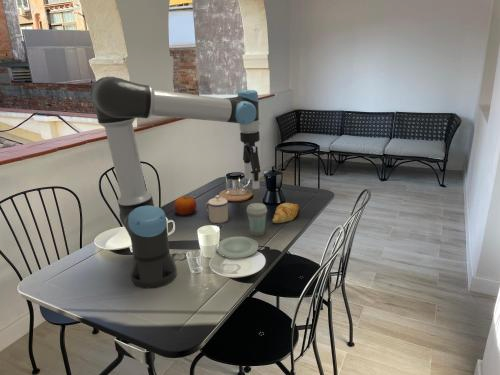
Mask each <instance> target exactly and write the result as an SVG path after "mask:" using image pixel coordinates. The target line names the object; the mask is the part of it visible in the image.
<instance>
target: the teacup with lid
mask: <svg viewBox="0 0 500 375" xmlns="http://www.w3.org/2000/svg"><path fill="white" fill-rule="evenodd" d="M228 204H229V201H228V200H227V198H225V197H221V196H220V195H219V194H218V195H215V196H214V197H213V198H210V199H209V200H208V201H207V202H206V203H205V209H206V211H207V212H208V219H209V221H210V222H211V223H213V224H222V223H225V222H227V221H228V219H229V211H228Z"/></svg>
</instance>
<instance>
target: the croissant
mask: <svg viewBox="0 0 500 375" xmlns="http://www.w3.org/2000/svg"><path fill="white" fill-rule="evenodd" d="M299 210H300V205H299V204H298V203H292V202H283V203H281V204H279V205H278V206H276V208H275V213H274V215H273V218H272V223H274V224H280V223H281V224H282V223H288V222H289V221H290V222H291V221H293V220H294V219H296V218H297V215H298V213H299Z"/></svg>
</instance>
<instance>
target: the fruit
mask: <svg viewBox="0 0 500 375" xmlns="http://www.w3.org/2000/svg"><path fill="white" fill-rule="evenodd" d="M173 208H174V210H175V212H176V213H178V214H179V215H182V216H185V215H190V214H192V213H194V212H195V211H196V209H197V201H196V199H195V198H193V197H192V196H189V195H183V196H180V197H178V198H176V199H175V201H174V204H173Z"/></svg>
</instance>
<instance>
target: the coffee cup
mask: <svg viewBox="0 0 500 375" xmlns="http://www.w3.org/2000/svg"><path fill="white" fill-rule="evenodd" d="M267 208H268V207H267V206H266V205H265V203H261V202H254V203H250V204H248V205H247V208H246V213H247V217H248V218H247V219H248V226H249V232H250V234H251V235H252V236H257V237H258V236H263V235H264V234H265V230H266V229H265V228H266V220H267V213H268V209H267Z"/></svg>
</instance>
